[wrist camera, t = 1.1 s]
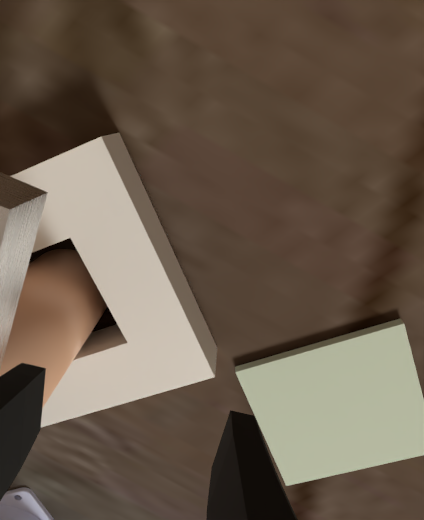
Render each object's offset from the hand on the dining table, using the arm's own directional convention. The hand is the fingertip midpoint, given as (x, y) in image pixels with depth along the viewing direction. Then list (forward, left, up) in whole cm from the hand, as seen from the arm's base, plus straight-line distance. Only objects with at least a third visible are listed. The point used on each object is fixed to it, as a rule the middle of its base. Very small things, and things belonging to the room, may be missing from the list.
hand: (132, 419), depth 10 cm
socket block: (-6, +1, -10) cm, 12 cm away
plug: (-6, +1, -10) cm, 12 cm away
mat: (+5, -11, -10) cm, 16 cm away
